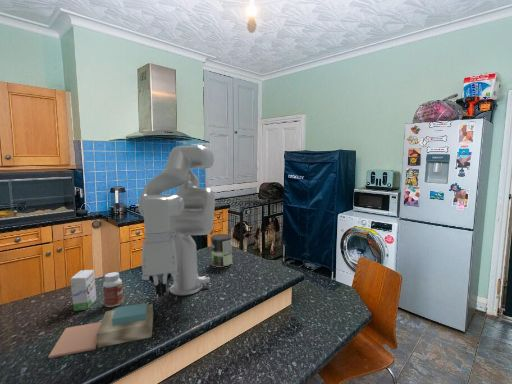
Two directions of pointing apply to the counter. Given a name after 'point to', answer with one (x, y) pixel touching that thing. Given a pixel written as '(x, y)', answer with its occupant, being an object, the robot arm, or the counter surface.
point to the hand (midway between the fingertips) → (161, 295)
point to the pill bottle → (113, 290)
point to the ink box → (83, 289)
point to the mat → (76, 340)
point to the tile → (129, 314)
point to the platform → (124, 329)
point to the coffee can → (221, 250)
